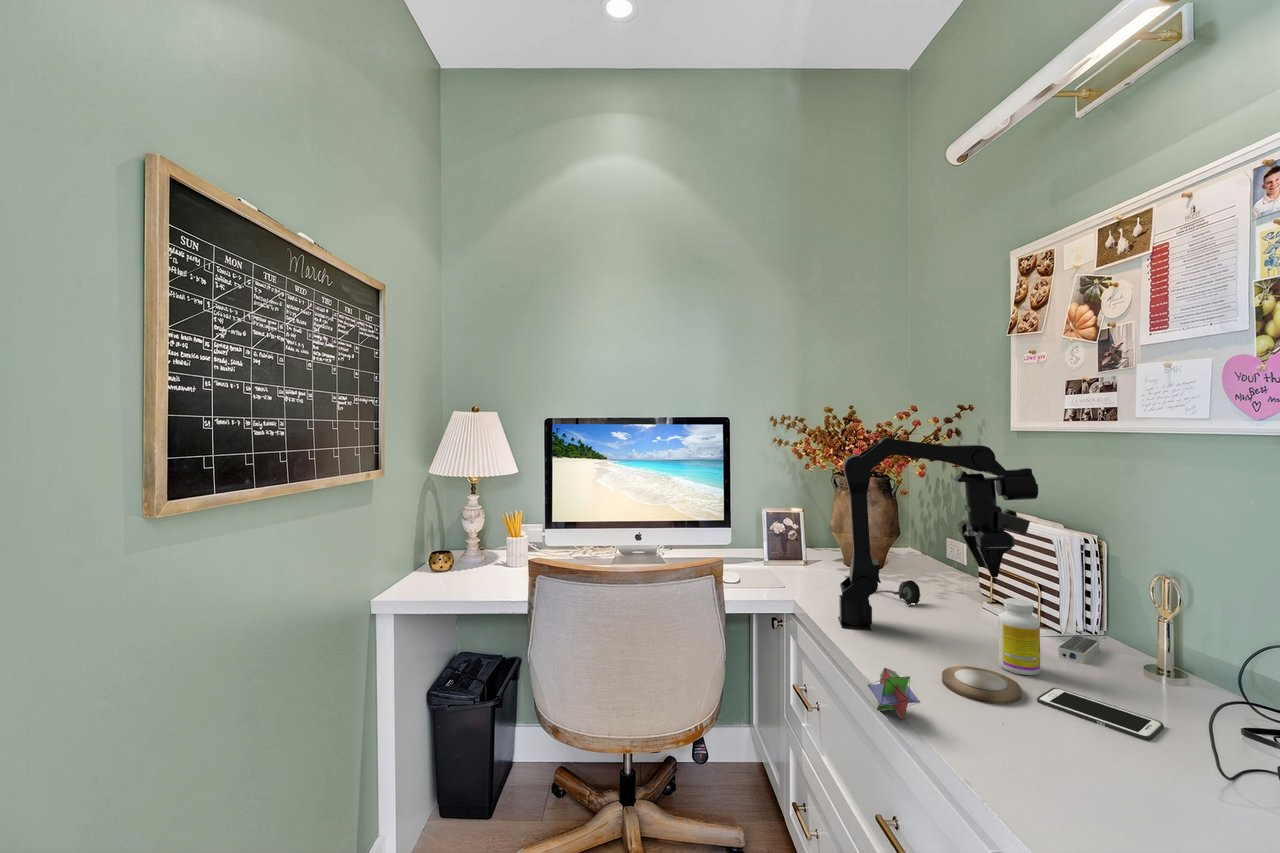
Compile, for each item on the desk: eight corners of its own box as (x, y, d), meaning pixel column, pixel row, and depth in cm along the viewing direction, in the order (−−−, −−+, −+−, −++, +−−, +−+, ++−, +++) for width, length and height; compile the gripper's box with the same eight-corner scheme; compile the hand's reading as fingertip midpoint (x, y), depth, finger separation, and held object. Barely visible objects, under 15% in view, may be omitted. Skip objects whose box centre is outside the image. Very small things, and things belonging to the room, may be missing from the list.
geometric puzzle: (934, 714, 86) (914, 660, 90) (893, 718, 85) (875, 662, 89) (911, 723, 91) (893, 671, 96) (872, 726, 90) (856, 674, 95)
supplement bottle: (1047, 678, 103) (1047, 608, 103) (1007, 675, 104) (1007, 606, 104) (1029, 663, 109) (1029, 597, 109) (992, 660, 111) (992, 595, 111)
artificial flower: (902, 614, 143) (890, 577, 143) (838, 600, 163) (828, 568, 163) (924, 600, 146) (913, 564, 146) (859, 588, 167) (849, 556, 167)
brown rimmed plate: (954, 699, 95) (954, 690, 95) (933, 669, 106) (933, 662, 106) (1034, 707, 92) (1034, 698, 92) (1004, 675, 104) (1004, 667, 104)
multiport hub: (1099, 652, 116) (1099, 641, 116) (1084, 665, 109) (1084, 654, 109) (1073, 645, 119) (1073, 634, 119) (1057, 658, 112) (1057, 647, 112)
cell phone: (1054, 691, 98) (1054, 686, 98) (1165, 729, 86) (1165, 722, 86) (1034, 703, 94) (1034, 698, 94) (1149, 744, 82) (1149, 738, 82)
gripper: (1040, 505, 113) (1047, 583, 112) (1008, 494, 130) (1014, 561, 130) (977, 507, 116) (985, 583, 115) (955, 497, 134) (961, 562, 133)
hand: (987, 571), depth 123 cm, fingers open, 9 cm apart
